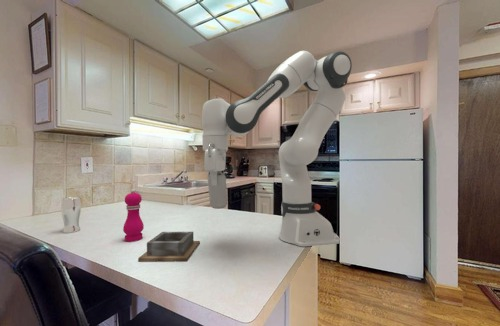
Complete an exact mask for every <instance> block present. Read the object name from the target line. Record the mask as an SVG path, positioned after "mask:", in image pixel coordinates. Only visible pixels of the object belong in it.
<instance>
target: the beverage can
mask: <svg viewBox="0 0 500 326" xmlns="http://www.w3.org/2000/svg"><path fill="white" fill-rule="evenodd" d="M207 176H208V177H207V188H208V195H209V197H208V198H209V206H210V207H211V208H212V209H216V210H217V209H220V210H221V209H224V208H225V207H226V206H227V205H228V203H229V202H228V190H227V189H228V188H227V176H226V174H225V173H224V172H222V173H217V185H214V186H213V185H212V184H211V177H210V173H209V174H208V175H207Z"/></svg>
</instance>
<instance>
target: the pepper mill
mask: <svg viewBox="0 0 500 326" xmlns="http://www.w3.org/2000/svg"><path fill="white" fill-rule="evenodd" d="M124 197H125V198H124V203H125V204H126V206H125V207H126V210H127V216H126V220H125V222H124V224H123V228H122V231H123V233H124V234H125V235H124V241H125V242H132V243H133V242H137V241H139V240H142V239H143V233H142V231H143V230H144V229H145V228H144V227H145V226H144V222H143V220H142V218H141V215H140V209H141V203H142V201H143V199H142V198H143V197H142V195H141V193H140V194H139V193H137V192H136V189H135V188H132V189H131V190H130V193H128V194H127V195H125V196H124Z"/></svg>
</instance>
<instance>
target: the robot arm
mask: <svg viewBox="0 0 500 326" xmlns="http://www.w3.org/2000/svg"><path fill="white" fill-rule="evenodd" d="M352 65H353V64H352V59H351V57H350V56H349V54H348V53H346V52H345V51H341V50H340V51H334V52H330V53H329V54H327V55H325V56H323V57H322V58H319V59H316V58H315V57H314V55H313V54H312V53H311V52H309V51H307V50H300V51H297V52H296V53H294V54H293V55H291V56H290V57H288V58H286V60H284V61H283V62H281V64H280V65H278V66H277V67H276V69H274V71H273V72H272V73H271V74H270V76H269V77H268V78H267V81H266V82H265V83H264V84H262V85H261V86H260V87H259V88H258V89H257V90H256V91H254V92H253V93H252V94H250V95H249V96H248V97H245V98H242V99H238V100H236V101H234V102H232V103H231V104H230V103H228V102H227V101H225V99H223V98H219V97H218V98H217V97H216V98H211V99H208V100H207V101H205V102H204V103H203V105H202V112H201V126H202V130H203V133H202V137H201V138H202V151H204V172H205V173H209V174H210V177H211V184H212V185H213V186H214V185H217V173H223V172H222V171H225V170H226V163H227V161H226V160H227V152H228V150H229V146H228V145H229V142H228V141H229V140H228V139H229V136H228V135H230V136H235V137H243V136H245V135H247V134H249V132H250V131H252V130H253V129H254V128H255V126H256V125H257V122H258V121H259V118H260V116H261V114H262V113H263V112H264V111H265V110H266V109H268V107H269V106H270V105H271V104H273V103H274V102H275V101H276V100H277V99H279V98H280V99H287V98H288V97H290V96H291V95H293V94H294V93H295V92H296V91H298V90H299V89H300V88H301V87H302V86H304V87H305V88H306V89H307V90H309V91H310V92H311V91H312V92H317V93H316V96H315V98H314V100H313V101H312V103H311V104H310V106H308V108H307V110H306V111H305V112H304V115H303V116H302V117H301V118H300V120H299V123H298V125H297V127H296V129H295V131H294V133H292V134H293V135H292V136H291V137H290V138H289V139H287V140H286V141H284V142H282V143H281V145H280V147H279V149H278V159H279V160H278V161H279V167H280V169H279V170H280V175H281V185H282V186H281V188H282V189H281V190H282V194H281V195H282V201H281V204H280V205H281V206H280V208H281V209H280V211H281V216H282V217H281V225H280V231H279V235H278V238H279V239H280V240H281V241H283V242H284V243H289V244H293V245H296V246H298V247H302V248H303V247H314V246H316V247H317V246H325V245H337V244H340V243H341V238H340V237H339V235H337V233H335V232H334V229H333V226H332V223H331V222H330V221H329V220H328V219H327V218H325V216H323V215H322V214H321V213H319V212H318V211H320V209H321V205H320V204H318V203H316V202H313V201H312V181H311V179H310V176H309V172H308V167H307V165H309V164H312V162H314V161H315V160H316V159H317V157H318V155H319V149H320V147H321V145H322V142H323V140H324V138H325V135H326V134H327V132H328V130H329V129H330V128H331V127H332V124H333V123H334V122H335V120H336V118H337V117H338V115H339V113H340V112H341V110H342V108H343V106H344V103H345V100H346V93H345V91H344V90H343V89H342V88H343V87H345V86H346V84H348V79H349V77H350V74H351V72H352V68H353V66H352Z"/></svg>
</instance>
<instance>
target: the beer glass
mask: <svg viewBox="0 0 500 326" xmlns="http://www.w3.org/2000/svg"><path fill="white" fill-rule="evenodd" d="M60 203H61V206H60V210H61V211H60V212H61V215H62V216H61V217H62V220H63V229H62V233H63V234H72V233H77V232H79V231H80V230H81V229H80V215H81V212H82V211H81V210H82V203H81V197H79V196H77V197H75V196H73V197H64V198H61V202H60Z"/></svg>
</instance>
